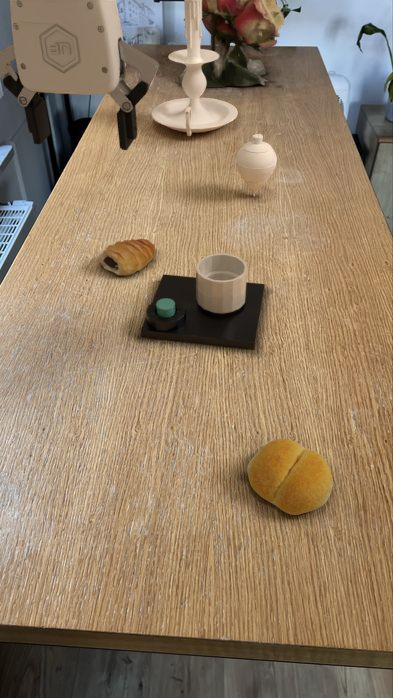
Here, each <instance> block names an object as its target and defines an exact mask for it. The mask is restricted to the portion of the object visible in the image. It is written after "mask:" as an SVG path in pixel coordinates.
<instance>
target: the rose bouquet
mask: <svg viewBox="0 0 393 698" xmlns="http://www.w3.org/2000/svg"><path fill="white" fill-rule="evenodd" d="M183 22H185V17H183ZM201 23H202V24H203V26H204V28H205V30H206V31H207V32H208V33H209V34H210V45H209V46H210V50H211V51H214V52H216V48H217V47H218V49H219V51H220V53H219V58H218V59H216V60H214V61H212V62H208V63H204V64H203V65H202V67H201V69H202V72H203V74H204V76H205V78H206V82H207V84H206V88H225V87H231V86H234V87H253V86H255V85H261V86H266V83H265V82H268V79H266V78H265V77H262V76H263V75H265V74H267V70H266V68H265V66H264V64H263V61H262V60H261V59H251V58H249V59H248V60H247V58H246V55H245V53H246V52H247V47H251V48H252V49H253V51H255V52H256V53H257V54H259V53H260V54H262V55H264V57H267V55H266V54H265V53H264V52H263V51H262V50H260V47H262V48H263V49H269V48H270V47H274V46H276V45H277V44H278V39H277V38H279V37H280V36H281V35H280V33H279V30H281V29H282V27H283V26H284V25H285V24H284V23H285V16H284V13H283V12H282V9H281V7H279V5H278V4H277V0H202V19H201ZM177 32H178V31H177ZM177 32H176V33H175V34H177ZM231 44H234V47H233V48H232V49H230V48H231ZM242 49H243V50H242ZM186 69H187V67H186V66H185V68H184V69H183V72H182V73H181V74H179V75H178V80H179V86H182V79H183V76H184V74H185V73H186ZM270 82H272V80H269V83H270Z"/></svg>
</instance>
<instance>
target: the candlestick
mask: <svg viewBox="0 0 393 698" xmlns="http://www.w3.org/2000/svg"><path fill="white" fill-rule="evenodd" d="M183 2H184V3H183V4H184V18H185V21H184V30H185V31H184V33H185V34H184V38H185V39H186V49H180V50H175V51H173V52H171V53H169V54H168V55H167V57H168V59H169V60H170V61H172V62H174V63H177V64H183V65H185V68H186V67H187V69H186V73H185V74H184V76H183V79H182V85H181V87H182V90H183V92H184V94H185V95H186V96H187V97H182V98H181V97H180V98H174V99H171V100H167V101H164V102H162V103H160V104H158V105H156V106H155V107H154V108H153V109H152V110H151V113H150V115H151V118H152V119H153V120H154V121H155V122H156V123H158V124H160V125H163V126H165V127H167V128H169V129H172V130H174V131H178V132H183V133H186V136H187V137H191V136H192V134H193V133H196V134H197V133H207V132H211V131H213V130H217V129H220V128H221V127H224V126H225V125H227V124H229V123H231V122H232V121H234V120H236V119H237V117H238V114H239V111H238V109H237V108H236V106H235V105H233V104H231V103H230V102H227V101H224V100H221V99H217V98H212V97H201V96H202V95H203V94H204V93H205V90H206V89H207V87H206V84H207V82H206V78H205V76H204V74H203V72H202V69H201V67H202V65H203V64H204V63H208V62H212V61H214V60H216V59H218V58H219V56H220V53H218V52H216V51H215V52H214V51H211V49H205V48H201V42H202V38H203V37H202V20H201V19H202V0H183Z"/></svg>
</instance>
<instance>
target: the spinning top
mask: <svg viewBox="0 0 393 698" xmlns="http://www.w3.org/2000/svg"><path fill="white" fill-rule="evenodd" d="M251 138H252V140H251V141H248V142H246V143H244V144H243V145H242V146H241V148H239V150H238V152H237V153H236V155H235V167H236V169H237V172H238V174H239V176H240V177H241V179H242V180H243V182H244V184H245V185H246V186H247V187H248V188H249V190H250V191H251V192H252V196H253V197H256V193H257V192H258V191H259V190H260V189H261V188H262V187H263V186H264V185H265V184H266V183H267V182H268V180H269V179H270V178H271V176H272V175H273V173H274V171H275V170H276V167H277V164H278V157H277V153H276V151H275V150H274V149H273V147H272V146H271V144H269V143H267V142H266V141H263V140H264V136H263V134H262V133H261V134H260V133H254V134H253V135H251Z"/></svg>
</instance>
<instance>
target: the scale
mask: <svg viewBox="0 0 393 698" xmlns="http://www.w3.org/2000/svg"><path fill="white" fill-rule="evenodd" d="M265 288H266V284H265V283H259V282H248V281H247V287H246V300H245V303H244V304H243V306H242V307H241V308H240V309H237V310H235V311H233V312H229V313H213V312H210V311H208V310H205V309H203V308H202V307H201V306H200V305H199V304H198V302H197V299H196V276H195V277H194V276H185V275H176V274H175V275H174V274H162V276H161V279H160V282H159V284H158V287H157V288H156V291H155V294H154V296H153V299H152V301H151V303H150V304H148V305H147V308H146V311H145V319H144V322H143V323H142V327H141V329H140V334H141V338H143V339H151V340H161V341H169V342H178V343H187V344H197V345H206V346H214V347H223V348H232V349H241V350H249V351H255V349H256V344H257V337H258V332H259V327H260V326H259V325H260V320H261V319H260V318H261V313H262V307H263V301H264V295H265ZM164 298H168V299H171V300H173V301H174V302H175V314H174V315H173V316H172V317H167V318H165V317H160V316H158V314H157V308H156V303H157V302H158V301H159V300H160V299H164Z"/></svg>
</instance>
